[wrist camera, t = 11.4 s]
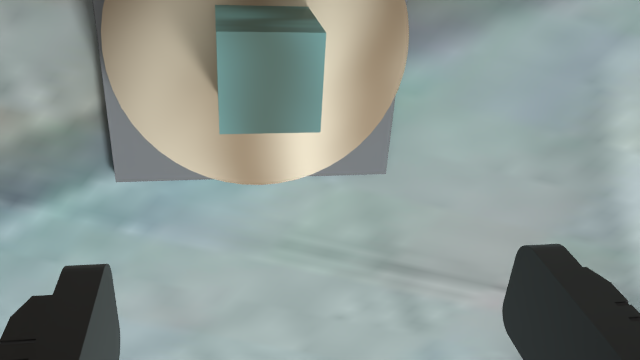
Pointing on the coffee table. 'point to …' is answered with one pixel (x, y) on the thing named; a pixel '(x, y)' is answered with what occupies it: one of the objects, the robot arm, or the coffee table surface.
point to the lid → (255, 79)
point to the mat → (151, 165)
